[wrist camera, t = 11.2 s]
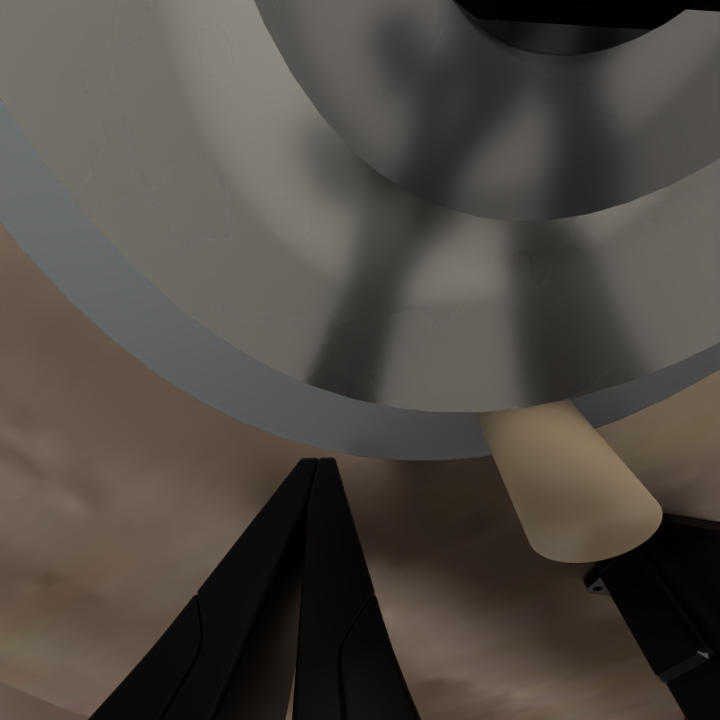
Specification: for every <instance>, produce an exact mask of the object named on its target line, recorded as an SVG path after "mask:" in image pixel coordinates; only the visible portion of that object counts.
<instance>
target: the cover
mask: <svg viewBox="0 0 720 720" xmlns="http://www.w3.org/2000/svg"><path fill="white" fill-rule="evenodd" d="M0 98H1V100H2V101H3V103H4V104H5V106H6V107H7V109H8V110H9V112H10V113H11V115H12V116H13V118H14V119H15V121H16V122H17V123H18V125H19V126H20V128H21V129H22V131H23V132H24V134H25V135H26V137H27V138H28V140H29V141H30V143H31V144H32V146H33V147H34V149H35V150H36V152H37V153H38V155H39V156H40V158H41V159H42V161H43V162H44V163H45V165H46V166H47V167H48V168H49V170H50V171H51V172H52V173H53V175H54V176H55V177H56V178H57V180H58V181H59V182H60V183H61V185H62V186H63V187H64V188H65V190H66V191H67V192H68V193H69V195H70V196H71V197H72V199H73V200H74V201H75V202H76V204H77V205H78V206H79V207H80V209H81V210H82V211H83V212H84V214H85V215H86V216H87V217H88V219H89V220H90V221H91V222H92V223H93V224H94V226H95V227H96V228H97V229H98V230H99V231H100V232H101V233H102V234H103V235H104V236H105V237H106V238H107V239H108V240H109V241H110V242H111V244H112V245H113V246H114V247H115V248H116V249H117V250H118V251H119V252H120V253H121V254H122V255H123V256H124V257H125V258H126V259H127V260H128V262H129V263H130V264H131V265H132V266H133V267H134V268H135V269H136V270H137V271H138V272H139V273H140V274H141V275H143V276H144V277H145V278H146V279H147V280H148V281H149V282H150V283H152V284H153V285H154V286H155V287H156V288H157V289H158V290H160V291H161V292H162V293H163V294H164V295H165V296H166V297H168V298H169V299H170V300H171V301H172V302H173V303H174V304H175V305H177V306H178V307H179V308H180V309H181V310H182V311H184V312H185V313H186V314H188V315H189V316H191V317H192V318H193V319H195V320H196V321H198V322H199V323H200V324H202V325H203V326H204V327H206V328H207V329H209V330H210V331H211V332H213V333H214V334H216V335H217V336H218V337H220V338H221V339H222V340H224V341H225V342H227V343H229V344H230V345H232V346H234V347H235V348H237V349H239V350H241V351H242V352H244V353H246V354H248V355H249V356H251V357H253V358H255V359H256V360H258V361H260V362H261V363H263V364H265V365H267V366H268V367H271V368H273V369H275V370H277V371H280V372H282V373H284V374H286V375H289V376H291V377H293V378H295V379H298V380H300V381H302V382H304V383H307V384H309V385H311V386H314V387H317V388H320V389H323V390H327V391H330V392H333V393H336V394H339V395H342V396H345V397H348V398H351V399H355V400H360V401H365V402H370V403H374V404H379V405H384V406H389V407H394V408H402V409H412V410H422V411H432V412H487V411H497V410H506V409H516V408H526V407H532V406H537V405H542V404H547V403H552V402H557V401H562V400H567V399H572V398H576V397H580V396H583V395H586V394H590V393H593V392H597V391H600V390H603V389H607V388H610V387H614V386H617V385H620V384H624V383H627V382H629V381H632V380H634V379H637V378H639V377H642V376H645V375H647V374H650V373H652V372H655V371H658V370H660V369H663V368H665V367H668V366H670V365H673V364H676V363H678V362H680V361H682V360H684V359H686V358H688V357H691V356H693V355H695V354H697V353H699V352H701V351H703V350H705V349H707V348H709V347H711V346H713V345H716V344H718V343H720V0H0Z"/></svg>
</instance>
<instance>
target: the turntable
mask: <svg viewBox="0 0 720 720" xmlns="http://www.w3.org/2000/svg"><path fill="white" fill-rule="evenodd" d="M0 222H1V223H2V224H3V226H4V227H5V228H6V229H7V231H8V232H9V233H10V235H11V236H12V237H13V238H14V240H15V241H16V242H17V243H18V245H19V246H20V247H21V249H22V250H23V251H24V252H25V253H26V254H27V255H28V256H29V257H30V258H31V260H32V261H33V262H34V263H35V264H36V265H37V266H38V267H39V268H40V269H41V270H42V271H43V272H44V274H45V275H46V276H47V277H48V278H49V279H50V280H51V281H52V282H53V283H54V284H55V285H56V286H57V288H58V289H59V290H60V291H61V292H62V293H63V294H64V295H65V296H66V297H67V298H68V299H69V300H70V301H71V302H72V303H73V304H74V305H75V306H76V307H77V308H78V309H79V310H80V311H82V312H83V313H84V314H85V315H86V316H87V317H88V318H89V319H90V320H91V321H93V322H94V323H95V324H96V325H97V326H98V327H99V328H100V329H101V330H102V331H104V332H105V333H106V334H107V335H108V336H109V337H110V338H111V339H112V340H113V341H115V342H116V343H117V344H119V345H120V346H121V347H122V348H124V349H125V350H126V351H128V352H129V353H130V354H132V355H133V356H134V357H136V358H137V359H138V360H139V361H141V362H142V363H143V364H145V365H146V366H147V367H149V368H150V369H151V370H153V371H154V372H155V373H156V374H158V375H160V376H161V377H163V378H164V379H166V380H167V381H169V382H171V383H172V384H174V385H175V386H177V387H179V388H180V389H182V390H183V391H185V392H186V393H188V394H190V395H191V396H193V397H194V398H196V399H198V400H199V401H201V402H203V403H205V404H207V405H209V406H211V407H213V408H215V409H217V410H219V411H221V412H223V413H225V414H227V415H229V416H231V417H233V418H235V419H236V420H238V421H241V422H243V423H246V424H248V425H251V426H253V427H256V428H258V429H261V430H263V431H266V432H268V433H271V434H273V435H276V436H278V437H281V438H285V439H288V440H291V441H295V442H298V443H302V444H305V445H309V446H312V447H316V448H319V449H324V450H329V451H334V452H339V453H344V454H350V455H355V456H360V457H371V458H381V459H392V460H452V459H463V458H474V457H485V456H490V455H492V456H493V458H494V460H495V463H496V465H497V467H498V470H499V472H500V475H501V477H502V479H503V482H504V484H505V486H506V489H507V491H508V493H509V496H510V498H511V500H512V503H513V505H514V508H515V510H516V512H517V515H518V517H519V519H520V522H521V524H522V526H523V529H524V531H525V534H526V536H527V538H528V541H529V543H530V545H531V547H532V548H533V549H534V550H535V551H536V552H537V553H538V554H540V555H542V556H543V557H546V558H548V559H551V560H555V561H559V562H567V563H586V562H594V561H600V560H604V559H609V558H612V557H615V556H618V555H621V554H623V553H626V552H628V551H630V550H632V549H634V548H636V547H638V546H639V545H641V544H642V543H644V542H645V541H646V540H648V539H649V538H650V537H651V536H652V535H653V534H654V533H655V532H656V530H657V529H658V527H659V526H660V523H661V521H662V509H661V506H660V504H659V503H658V502H657V501H656V499H655V498H654V497H653V496H652V495H651V494H650V492H649V491H648V490H647V489H646V488H645V487H644V485H643V484H642V483H641V482H640V481H639V480H638V479H637V477H636V476H635V475H634V474H633V473H632V472H631V470H630V469H629V468H628V467H627V466H626V465H625V463H624V462H623V461H622V460H621V459H620V458H619V457H618V455H617V454H616V453H615V452H614V451H613V450H612V448H611V447H610V446H609V445H608V444H607V443H606V441H605V440H604V439H603V438H602V437H601V436H600V435H599V433H598V432H597V431H596V430H595V428H598V427H600V426H603V425H606V424H609V423H611V422H614V421H617V420H620V419H622V418H624V417H626V416H629V415H631V414H633V413H635V412H637V411H640V410H642V409H644V408H646V407H648V406H651V405H653V404H655V403H657V402H659V401H662V400H664V399H666V398H668V397H670V396H672V395H674V394H676V393H678V392H679V391H681V390H683V389H685V388H687V387H689V386H690V385H692V384H694V383H696V382H698V381H699V380H701V379H703V378H705V377H707V376H709V375H710V374H712V373H714V372H716V371H718V370H720V343H718V344H716V345H713V346H711V347H709V348H707V349H705V350H703V351H701V352H699V353H697V354H695V355H693V356H691V357H688V358H686V359H684V360H682V361H680V362H678V363H676V364H673V365H670V366H668V367H665V368H663V369H660V370H658V371H655V372H652V373H650V374H647V375H645V376H642V377H639V378H637V379H634V380H632V381H629V382H627V383H624V384H620V385H617V386H614V387H610V388H607V389H603V390H600V391H597V392H593V393H590V394H586V395H583V396H580V397H576V398H572V399H567V400H562V401H557V402H552V403H547V404H542V405H537V406H532V407H526V408H516V409H506V410H497V411H487V412H432V411H422V410H412V409H402V408H394V407H389V406H384V405H379V404H374V403H370V402H365V401H360V400H355V399H351V398H348V397H345V396H342V395H339V394H336V393H333V392H330V391H327V390H323V389H320V388H317V387H314V386H311V385H309V384H307V383H304V382H302V381H300V380H298V379H295V378H293V377H291V376H289V375H286V374H284V373H282V372H280V371H277V370H275V369H273V368H271V367H268V366H267V365H265V364H263V363H261V362H260V361H258V360H256V359H255V358H253V357H251V356H249V355H248V354H246V353H244V352H242V351H241V350H239V349H237V348H235V347H234V346H232V345H230V344H229V343H227V342H225V341H224V340H222V339H221V338H220V337H218V336H217V335H216V334H214V333H213V332H211V331H210V330H209V329H207V328H206V327H204V326H203V325H202V324H200V323H199V322H198V321H196V320H195V319H193V318H192V317H191V316H189V315H188V314H186V313H185V312H184V311H182V310H181V309H180V308H179V307H178V306H177V305H175V304H174V303H173V302H172V301H171V300H170V299H169V298H168V297H166V296H165V295H164V294H163V293H162V292H161V291H160V290H158V289H157V288H156V287H155V286H154V285H153V284H152V283H150V282H149V281H148V280H147V279H146V278H145V277H144V276H143V275H141V274H140V273H139V272H138V271H137V270H136V269H135V268H134V267H133V266H132V265H131V264H130V263H129V262H128V260H127V259H126V258H125V257H124V256H123V255H122V254H121V253H120V252H119V251H118V250H117V249H116V248H115V247H114V246H113V245H112V244H111V242H110V241H109V240H108V239H107V238H106V237H105V236H104V235H103V234H102V233H101V232H100V231H99V230H98V229H97V228H96V227H95V226H94V224H93V223H92V222H91V221H90V220H89V219H88V217H87V216H86V215H85V214H84V212H83V211H82V210H81V209H80V207H79V206H78V205H77V204H76V202H75V201H74V200H73V199H72V197H71V196H70V195H69V193H68V192H67V191H66V190H65V188H64V187H63V186H62V185H61V183H60V182H59V181H58V180H57V178H56V177H55V176H54V175H53V173H52V172H51V171H50V170H49V168H48V167H47V166H46V165H45V163H44V162H43V161H42V159H41V158H40V156H39V155H38V153H37V152H36V150H35V149H34V147H33V146H32V144H31V143H30V141H29V140H28V138H27V137H26V135H25V134H24V132H23V131H22V129H21V128H20V126H19V125H18V123H17V122H16V121H15V119H14V118H13V116H12V115H11V113H10V112H9V110H8V109H7V107H6V106H5V104H4V103H3V101H2V100H1V98H0Z"/></svg>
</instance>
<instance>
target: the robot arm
mask: <svg viewBox="0 0 720 720" xmlns="http://www.w3.org/2000/svg"><path fill="white" fill-rule="evenodd" d="M584 584H585V586H586V588H587V590H588V592H590V593H595V594H601V595H608V596H611V597H612V599H613V600H614V602H615V604H616V606H617V607H618V609H619V611H620V613H621V615H622V616H623V618H624V620H625V622H626V623H627V625H628V627H629V629H630V631H631V632H632V634H633V636H634V638H635V639H636V641H637V643H638V645H639V647H640V648H641V650H642V652H643V654H644V655H645V657H646V659H647V661H648V663H649V664H650V666H651V668H652V670H653V671H654V673H655V675H656V676H657V678H658V679H659V680H660V681H661V682H663V683H666V684H667V686H668V688H669V689H670V691H671V693H672V695H673V696H674V698H675V700H676V702H677V703H678V705H679V707H680V709H681V710H682V712H683V714H684V716H685V717H686V719H687V720H720V524H718V523H712V522H707V521H701V520H695V519H689V518H683V517H677V516H671V515H662V521H661V523H660V526H659V527H658V529H657V530H656V532H655V533H654V534H653V535H652V536H651V537H650V538H649V539H648V540H646V541H645V542H644V543H642V544H641V545H639V546H638V547H636V548H634V549H632V550H630V551H628V552H626V553H623V554H621V555H618V556H615V557H612V558H609V559H606V560H605V561H604V562H603V563H602V564H601V565H600V566H599V567H598V568H596V569H595V570H594V571H593V572H592V573H591V574H590V575H589V576H588V577H587V578H586V579H585V580H584ZM197 594H198V595H194V596H193V597H192V599H191V600H190V601H189V602H188V604H187V605H186V606H185V608H184V609H183V610H182V611H181V613H180V614H179V615H178V617H177V618H176V619H175V620H174V621H173V623H172V624H171V625H170V626H169V628H168V629H167V630H166V631H165V632H164V634H163V635H162V636H161V637H160V639H159V640H158V641H157V642H156V644H155V645H154V646H153V647H152V648H151V649H150V651H149V652H148V653H147V654H146V655H145V656H144V657H143V659H142V660H141V661H140V662H139V663H138V664H137V665H136V667H135V668H134V669H133V670H132V671H131V672H130V673H129V674H128V676H127V677H126V678H125V679H124V680H123V681H122V682H121V684H120V685H119V686H118V687H117V688H116V689H115V690H114V691H113V692H112V694H111V695H110V696H109V697H108V698H107V699H106V700H105V701H104V702H103V703H102V705H101V706H100V707H99V708H98V709H97V710H96V711H95V712H94V713H93V715H92V716H91V717H90V718H89V719H88V720H285V719H286V714H287V709H288V703H289V698H290V693H291V688H292V682H293V677H294V672H295V667H296V672H295V686H294V701H293V715H292V720H421V718H420V716H419V713H418V711H417V708H416V706H415V704H414V701H413V699H412V696H411V694H410V692H409V689H408V687H407V684H406V682H405V679H404V677H403V674H402V671H401V669H400V666H399V664H398V661H397V659H396V656H395V654H394V651H393V648H392V645H391V642H390V639H389V636H388V633H387V630H386V627H385V624H384V621H383V617H382V614H381V611H380V607H379V604H378V600H377V597H376V596H375V591H374V588H373V584H372V581H371V578H370V574H369V571H368V567H367V564H366V561H365V557H364V554H363V551H362V547H361V544H360V540H359V537H358V534H357V530H356V527H355V524H354V520H353V517H352V513H351V510H350V507H349V503H348V500H347V497H346V493H345V490H344V486H343V483H342V480H341V476H340V473H339V470H338V466H337V463H336V460H335V458H320V459H319V460H318V459H317V458H302V459H301V460H300V461H299V462H298V463H297V465H296V466H295V467H294V468H293V470H292V471H291V472H290V474H289V475H288V476H287V477H286V479H285V480H284V481H283V483H282V484H281V485H280V486H279V488H278V489H277V490H276V492H275V493H274V494H273V495H272V497H271V498H270V499H269V500H268V502H267V503H266V504H265V506H264V507H263V508H262V509H261V511H260V512H259V513H258V515H257V516H256V517H255V518H254V520H253V521H252V522H251V523H250V525H249V526H248V527H247V529H246V530H245V531H244V532H243V534H242V535H241V536H240V538H239V539H238V540H237V541H236V543H235V544H234V545H233V546H232V548H231V549H230V550H229V552H228V553H227V554H226V555H225V557H224V558H223V559H222V561H221V562H220V563H219V564H218V566H217V567H216V568H215V570H214V571H213V572H212V573H211V575H210V576H209V577H208V578H207V580H206V581H205V582H204V584H203V585H202V586H201V587H200V589H199V590H198V592H197Z"/></svg>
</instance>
